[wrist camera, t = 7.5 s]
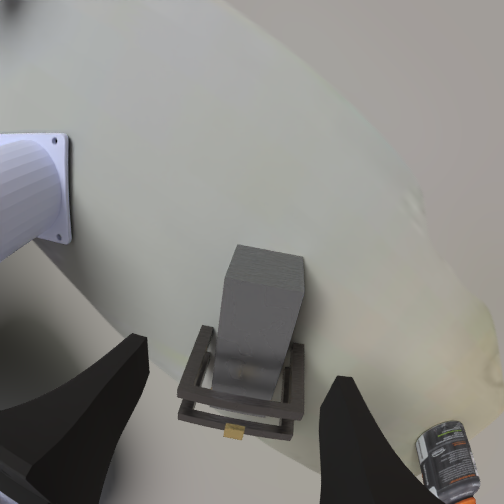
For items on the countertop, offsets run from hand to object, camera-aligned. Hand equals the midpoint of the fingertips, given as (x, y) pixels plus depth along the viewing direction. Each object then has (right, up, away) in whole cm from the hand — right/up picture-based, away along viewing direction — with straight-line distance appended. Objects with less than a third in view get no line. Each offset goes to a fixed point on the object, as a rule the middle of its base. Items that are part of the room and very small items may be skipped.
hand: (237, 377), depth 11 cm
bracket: (+1, -2, +11) cm, 11 cm away
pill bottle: (+21, -16, +15) cm, 31 cm away
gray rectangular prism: (+1, 0, +10) cm, 10 cm away
